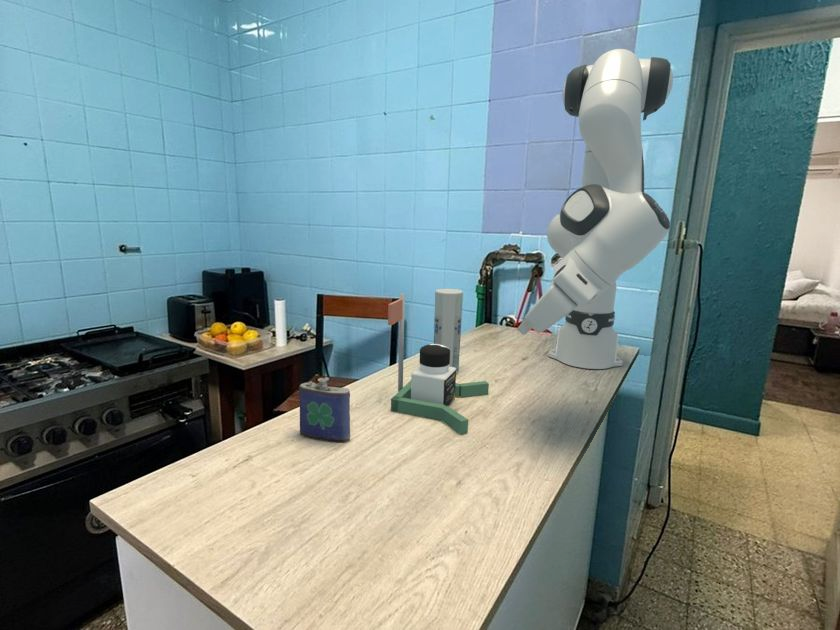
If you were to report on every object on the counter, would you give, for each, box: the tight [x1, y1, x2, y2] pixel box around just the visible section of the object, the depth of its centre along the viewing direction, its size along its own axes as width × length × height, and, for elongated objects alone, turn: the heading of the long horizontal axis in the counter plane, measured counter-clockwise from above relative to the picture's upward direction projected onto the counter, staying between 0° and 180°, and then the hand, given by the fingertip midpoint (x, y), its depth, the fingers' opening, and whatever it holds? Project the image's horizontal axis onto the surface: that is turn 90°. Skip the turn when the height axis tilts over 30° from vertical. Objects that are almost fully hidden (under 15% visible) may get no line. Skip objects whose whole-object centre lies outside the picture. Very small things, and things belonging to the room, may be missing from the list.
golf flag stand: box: [387, 292, 490, 435], centre depth 87 cm, size 21×17×22 cm
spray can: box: [433, 288, 464, 375], centre depth 106 cm, size 6×6×20 cm
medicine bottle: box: [410, 343, 457, 407], centre depth 89 cm, size 7×7×12 cm
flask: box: [298, 376, 351, 443], centre depth 74 cm, size 9×3×11 cm, turn 74°
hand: (521, 330), depth 82 cm, fingers closed
